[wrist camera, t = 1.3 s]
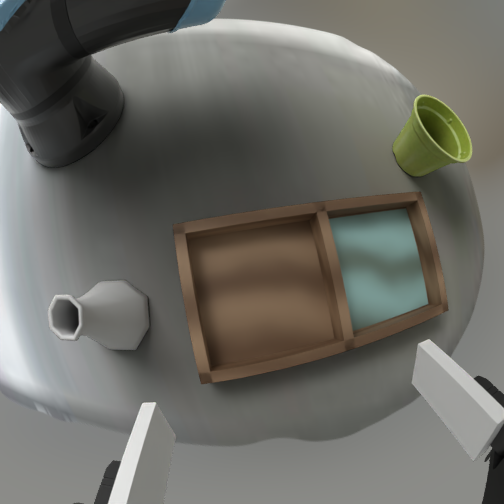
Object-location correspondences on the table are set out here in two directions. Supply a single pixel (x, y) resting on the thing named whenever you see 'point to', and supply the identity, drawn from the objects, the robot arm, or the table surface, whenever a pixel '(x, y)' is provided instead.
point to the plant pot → (431, 138)
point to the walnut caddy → (305, 281)
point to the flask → (102, 315)
